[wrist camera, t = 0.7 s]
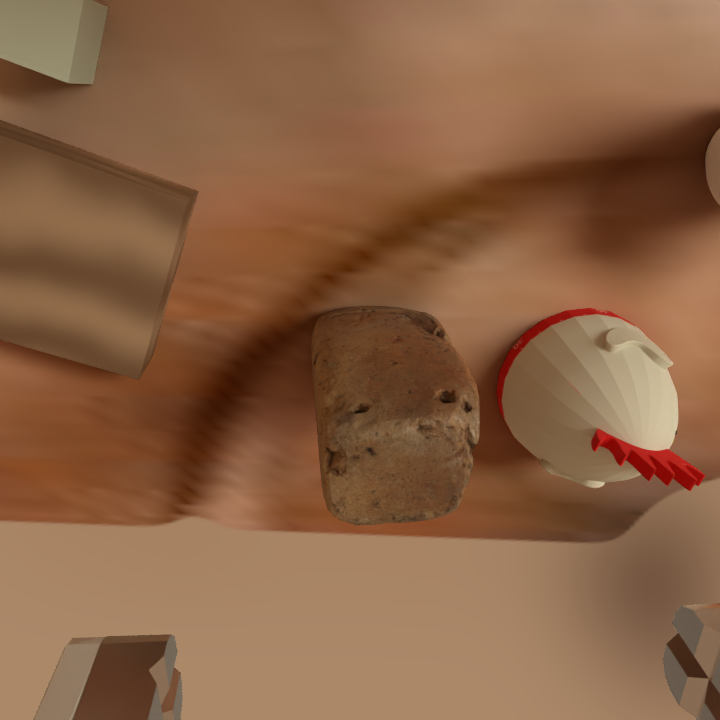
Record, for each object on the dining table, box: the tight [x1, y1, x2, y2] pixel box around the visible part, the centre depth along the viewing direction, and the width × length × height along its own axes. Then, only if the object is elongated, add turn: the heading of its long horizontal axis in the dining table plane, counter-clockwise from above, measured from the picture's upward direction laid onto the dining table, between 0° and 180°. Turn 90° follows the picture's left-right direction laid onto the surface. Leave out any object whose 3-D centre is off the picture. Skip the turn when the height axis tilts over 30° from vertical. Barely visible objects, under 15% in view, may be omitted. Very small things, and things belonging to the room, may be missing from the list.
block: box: [311, 306, 480, 525], centre depth 43 cm, size 11×8×20 cm
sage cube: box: [0, 0, 108, 84], centre depth 39 cm, size 5×5×5 cm
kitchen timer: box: [496, 308, 705, 491], centre depth 48 cm, size 14×14×15 cm
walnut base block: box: [0, 120, 198, 380], centre depth 45 cm, size 14×14×5 cm
